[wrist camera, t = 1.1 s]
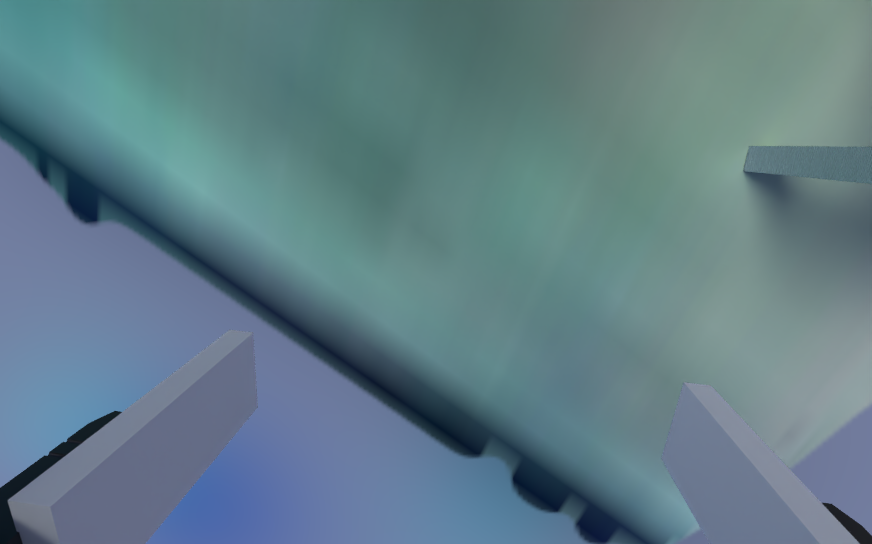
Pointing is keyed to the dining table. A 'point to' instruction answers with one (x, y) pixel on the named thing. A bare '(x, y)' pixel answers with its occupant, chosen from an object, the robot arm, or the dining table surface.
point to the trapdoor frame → (812, 162)
